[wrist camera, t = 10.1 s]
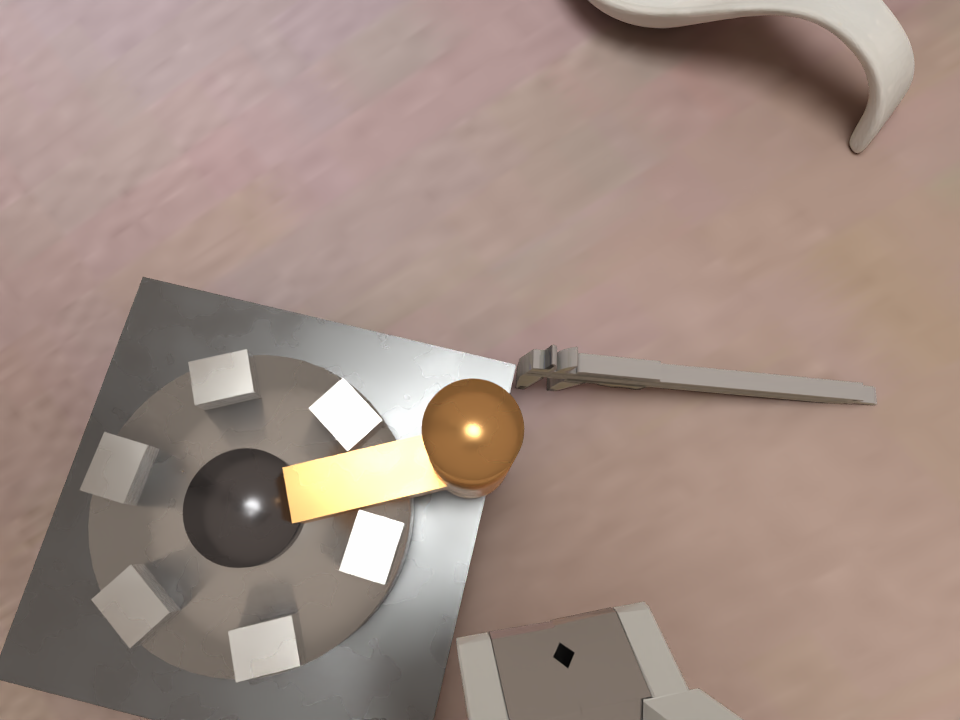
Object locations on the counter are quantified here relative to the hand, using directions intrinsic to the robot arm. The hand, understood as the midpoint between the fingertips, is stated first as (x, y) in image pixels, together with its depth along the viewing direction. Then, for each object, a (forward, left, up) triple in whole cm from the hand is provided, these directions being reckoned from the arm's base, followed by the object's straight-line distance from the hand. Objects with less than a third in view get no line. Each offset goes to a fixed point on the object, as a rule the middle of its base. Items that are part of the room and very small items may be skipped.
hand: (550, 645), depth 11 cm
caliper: (+9, +13, -29) cm, 33 cm away
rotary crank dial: (-9, +2, -24) cm, 26 cm away
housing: (-11, +1, -29) cm, 31 cm away
